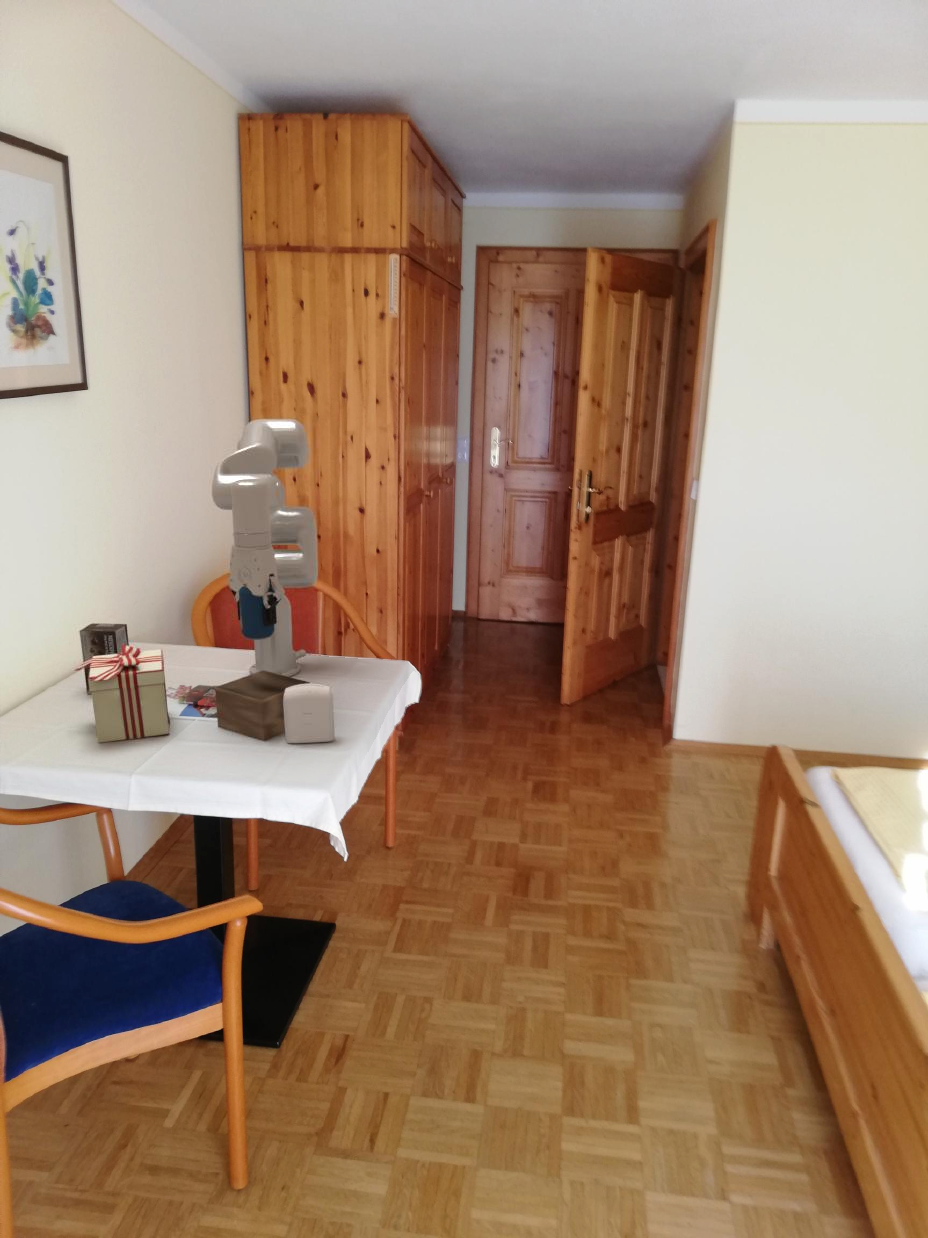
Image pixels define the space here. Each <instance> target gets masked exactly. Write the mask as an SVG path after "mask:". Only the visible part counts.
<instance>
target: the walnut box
mask: <svg viewBox="0 0 928 1238" xmlns="http://www.w3.org/2000/svg"><path fill="white" fill-rule="evenodd" d="M299 684H311V681H308V680H303V679H299V678H295V677H293V676H289V677H288V676H284V675H280V674H276V673H272V672H268V671H264V670H262V671H259V672H257V673H254V674H249V675H246V676H243V677H240V678H237V679H234V680H231V681H228V682H225V683H224V684H223V683H222V684H221V685H220V684H219V685H217V686H215V687H213V691H215V704H216V706H215V707H216V716H217V717H216V718H217V727H218V728H221V729H224V730H227V731H230V732H234V733H237V734H240V735H242V736H247V737H250V738H253V739H255V740H260V741H263V742H265V741H267V740H269V739H272V738H274V737H277V736H279V735H281V734H283V733H285V723H284V707H283V697H284V693H285V689H286V688H288V687H291V686H295V685H299Z"/></svg>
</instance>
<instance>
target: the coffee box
mask: <svg viewBox="0 0 928 1238" xmlns="http://www.w3.org/2000/svg"><path fill="white" fill-rule="evenodd" d="M128 634H129V633H128V624H126V623H90V624H88V625H86V626H85V627H83V628H82V629H80V630H79V639H80V646H81V654H82V664H83V663H84V662H86V661H87V660H89V659H92V656H100V655H110V654H118V653H122V646H123V645H127V646H130V643H129V636H128ZM83 670H84V671H83V672H84V680H85V686H86V687H85V689H86V695H91V696H92V692H90V691H89V682H88V677H89V670H90V665H88V666H86V667H84V668H83Z"/></svg>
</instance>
